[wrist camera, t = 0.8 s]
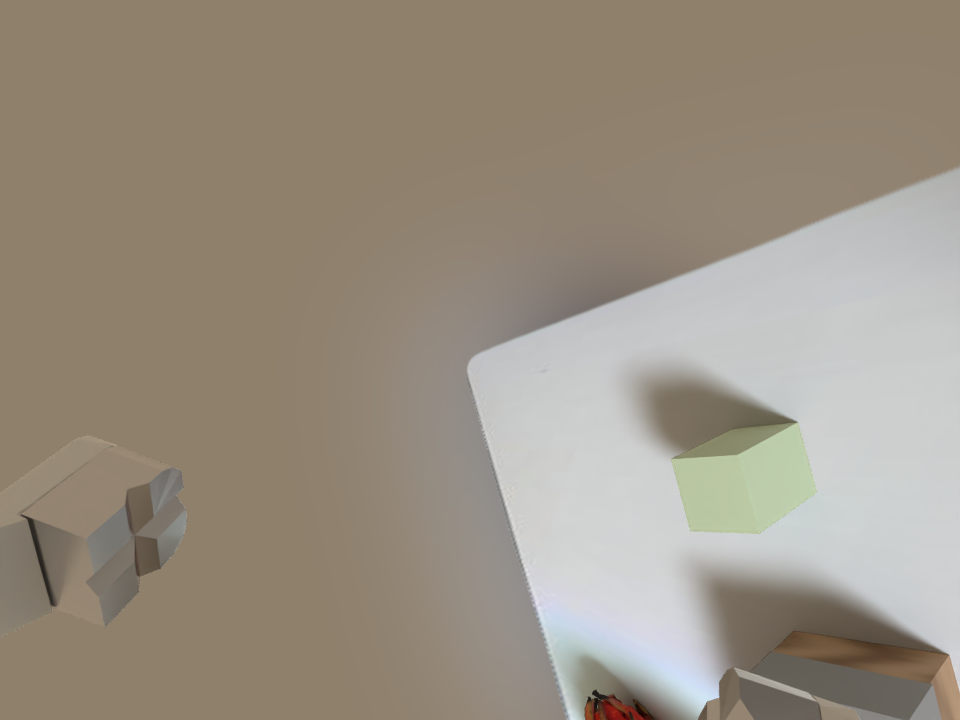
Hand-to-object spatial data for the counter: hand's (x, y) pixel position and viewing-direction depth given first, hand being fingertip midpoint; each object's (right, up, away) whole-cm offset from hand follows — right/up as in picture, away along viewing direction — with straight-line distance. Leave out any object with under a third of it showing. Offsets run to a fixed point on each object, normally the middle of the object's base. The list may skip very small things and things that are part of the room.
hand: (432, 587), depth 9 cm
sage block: (+22, -4, +38) cm, 44 cm away
